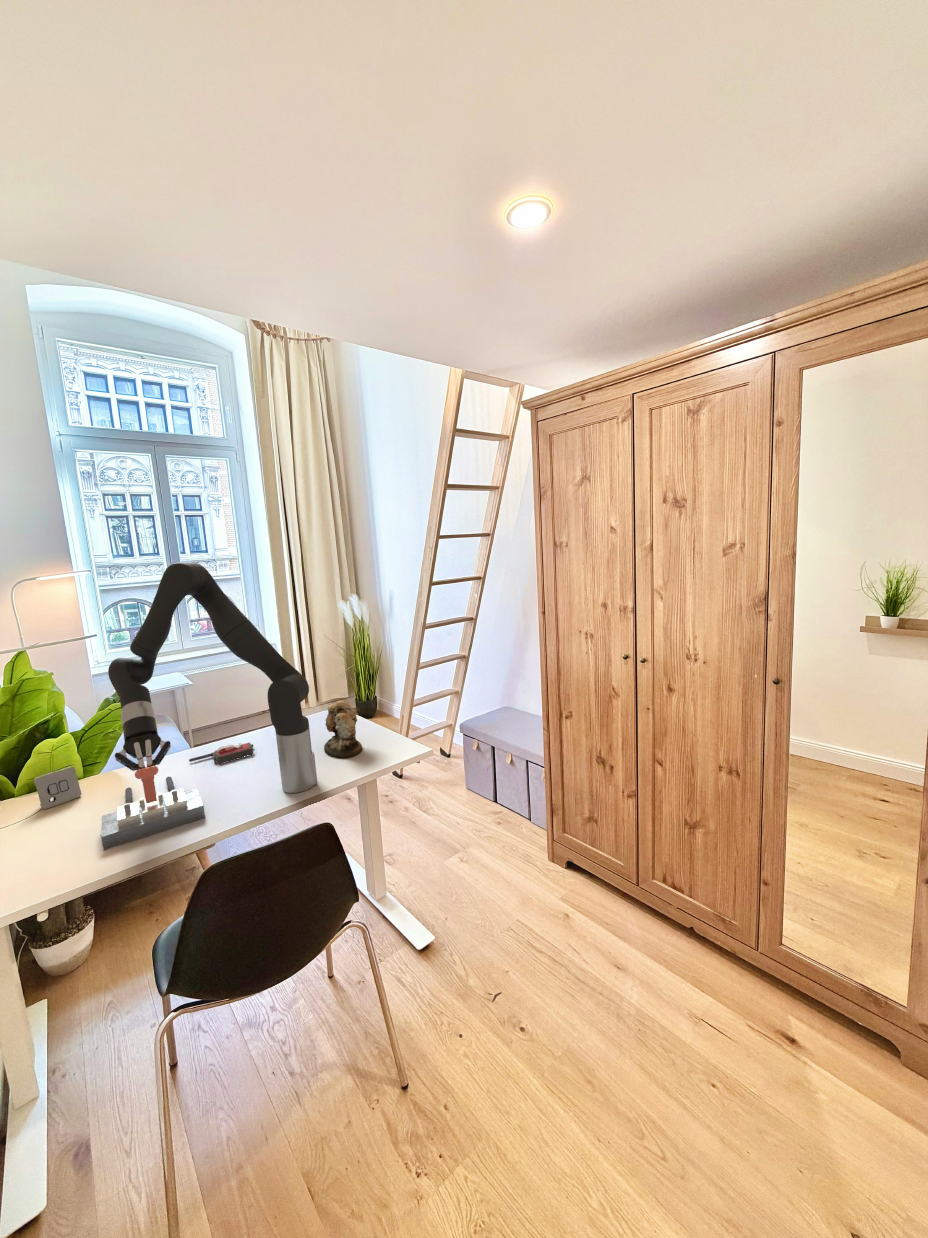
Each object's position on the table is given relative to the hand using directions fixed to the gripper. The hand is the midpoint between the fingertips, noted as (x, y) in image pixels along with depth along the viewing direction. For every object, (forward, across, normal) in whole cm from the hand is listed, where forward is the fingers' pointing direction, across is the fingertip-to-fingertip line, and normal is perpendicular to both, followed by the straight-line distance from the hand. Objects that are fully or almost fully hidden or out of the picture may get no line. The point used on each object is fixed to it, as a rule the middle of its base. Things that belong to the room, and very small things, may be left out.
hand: (148, 781), depth 127 cm
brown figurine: (-1, +56, +19) cm, 59 cm away
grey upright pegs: (-4, 0, +22) cm, 22 cm away
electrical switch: (-15, -22, +34) cm, 43 cm away
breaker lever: (+3, 0, +6) cm, 6 cm away
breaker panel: (+7, 0, +10) cm, 13 cm away
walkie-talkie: (-15, +22, +34) cm, 43 cm away
